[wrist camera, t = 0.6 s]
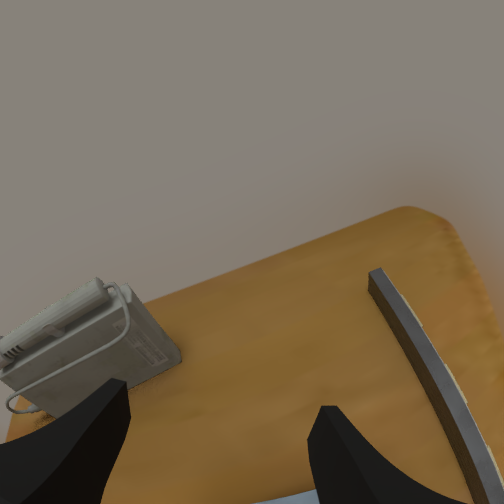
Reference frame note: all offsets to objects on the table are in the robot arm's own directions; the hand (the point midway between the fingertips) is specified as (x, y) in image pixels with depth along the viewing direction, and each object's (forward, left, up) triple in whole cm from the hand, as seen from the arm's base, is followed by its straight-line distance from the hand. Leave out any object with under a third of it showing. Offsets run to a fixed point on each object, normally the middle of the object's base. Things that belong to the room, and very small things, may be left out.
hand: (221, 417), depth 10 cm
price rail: (+1, -14, -16) cm, 22 cm away
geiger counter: (+12, +21, -17) cm, 29 cm away
